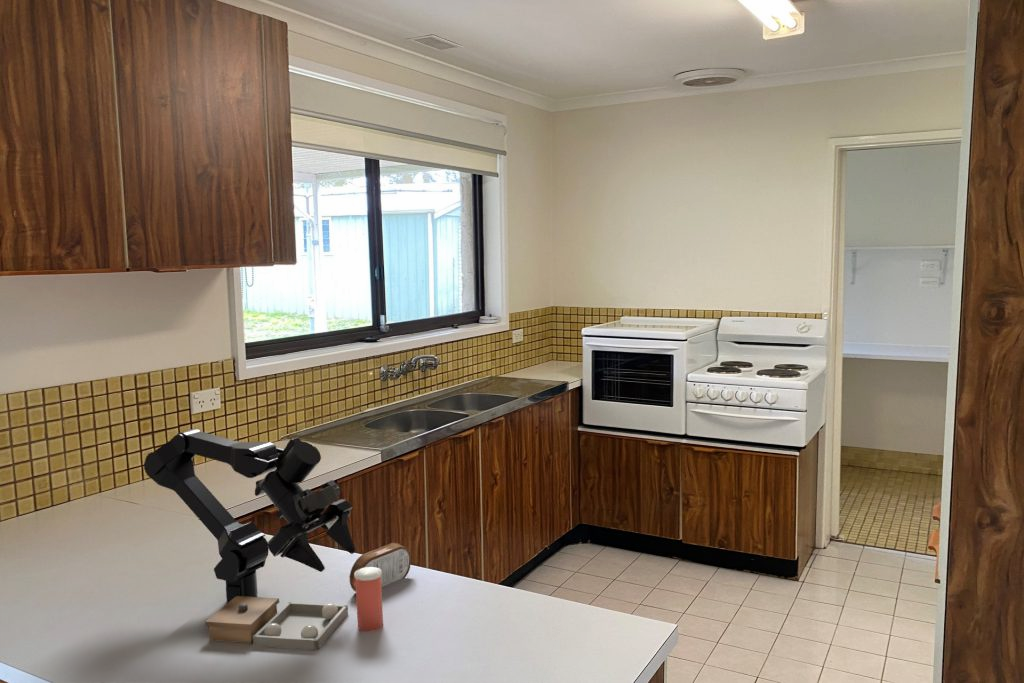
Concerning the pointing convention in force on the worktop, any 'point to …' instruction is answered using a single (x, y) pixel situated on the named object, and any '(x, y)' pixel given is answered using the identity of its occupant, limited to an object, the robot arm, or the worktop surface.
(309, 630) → the white glossy ball
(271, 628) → the shiny white sphere
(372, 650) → the worktop surface
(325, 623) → the tray
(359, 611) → the scoop cup
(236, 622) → the lidded box
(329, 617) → the pebble
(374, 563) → the tin
